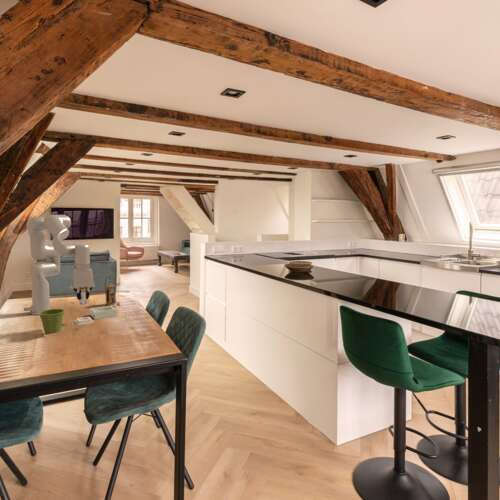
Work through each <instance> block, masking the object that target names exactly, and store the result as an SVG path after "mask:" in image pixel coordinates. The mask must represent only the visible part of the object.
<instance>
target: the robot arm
mask: <svg viewBox="0 0 500 500" xmlns="http://www.w3.org/2000/svg"><path fill="white" fill-rule="evenodd" d="M71 225H72V220H71V217H69V216H68V215H66V214H48V215H46V216H32V217H30V218H29V219H28V220H27V222H26V230H27V233H28V236H29V246H30V247H29V249H30V255H31V258H32V260H36V261H38V262H33V263H31V264H30V265H29V267H28V274H29V277H30V283H31V284H30V285H31V303H32V304H31V306H29V307H23V311H24V312H29V315H35V316H38V315H39V314H38V313H39V312H41V311H44V310H49V309H52V308H51V302H50V301H51V300H50V298H51V297H50V285H49V284H50V283H49V281H48V280H47V279H46V278H47V277H54V276H57V275H59V274H60V272H61V258H65V259H66V258H72V257H73V258H74V264H72V265H71V268H72V269H73V268H74V269H73V271H72V272H73V273H72V283H71V284H70V286H69V287H68V288H69V289H70V290H73V291H74V292H75V293H76V299H77V300H78V301H80V292H79V290H80V288H83V287H87V300H89V298H90V292H91V291H92V289H94V288H95V287H96V286H97V285H96V283H95V281H94V275H93V270H92V268H91V259H90V258H91V256H90V255H91V253H90V245H88V244H85V243H84V244H83V243H77V242H75V243H63V242H62V241H64V240H65V239H67V238H68V237H69V235H70V230H69V228H70V227H71ZM43 231H48V232H50V234H51V235H52V241H51V243H47V237H46V235H45V234H44V232H43ZM42 260H45V261H42ZM46 260H47V261H46ZM39 316H40V315H39Z"/></svg>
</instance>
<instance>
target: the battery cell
mask: <svg viewBox="0 0 500 500" xmlns="http://www.w3.org/2000/svg"><path fill="white" fill-rule="evenodd" d="M79 292H80V300H79V305H83V306H84V305H87V304H88V299H87V287H83V288H80V290H79Z"/></svg>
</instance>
